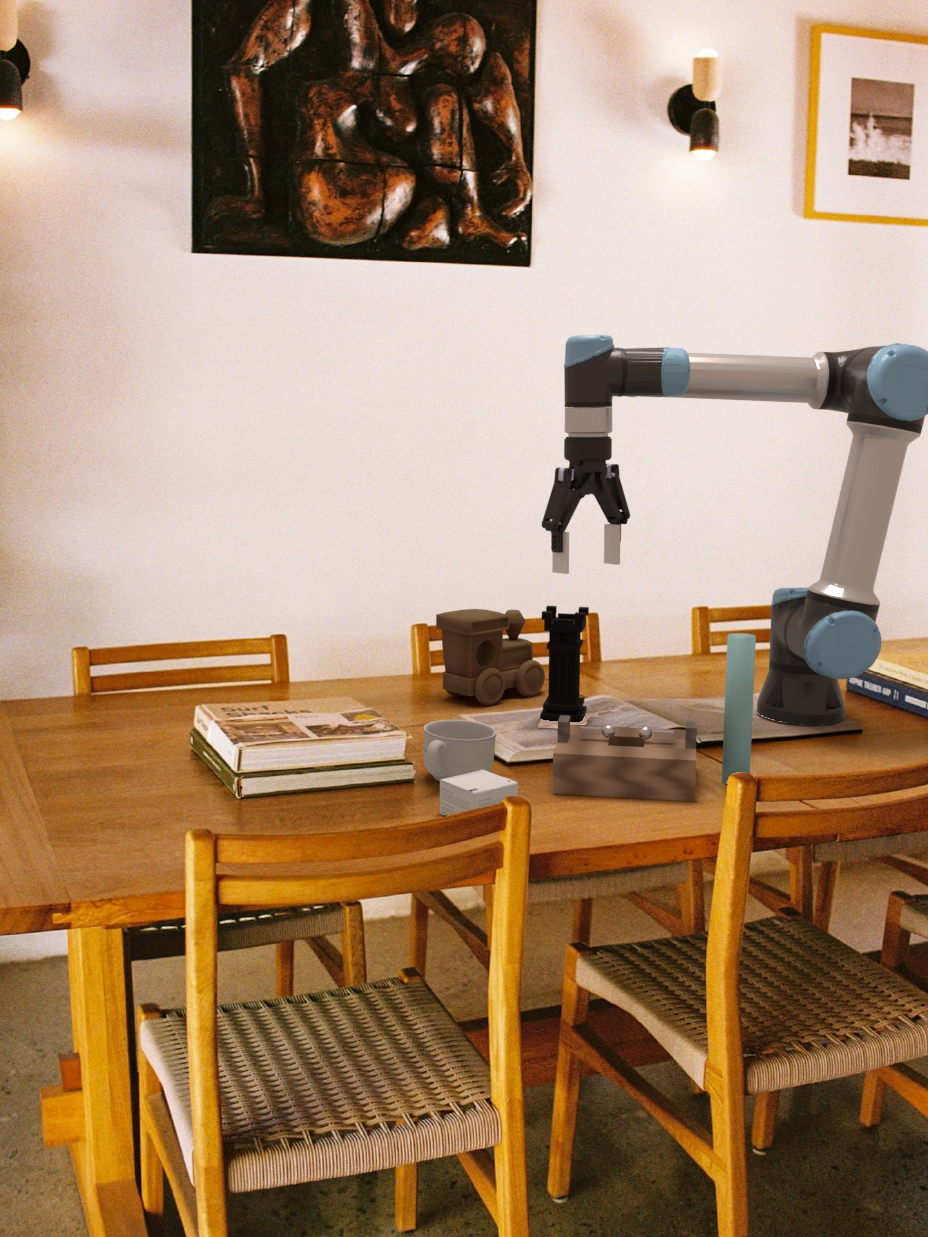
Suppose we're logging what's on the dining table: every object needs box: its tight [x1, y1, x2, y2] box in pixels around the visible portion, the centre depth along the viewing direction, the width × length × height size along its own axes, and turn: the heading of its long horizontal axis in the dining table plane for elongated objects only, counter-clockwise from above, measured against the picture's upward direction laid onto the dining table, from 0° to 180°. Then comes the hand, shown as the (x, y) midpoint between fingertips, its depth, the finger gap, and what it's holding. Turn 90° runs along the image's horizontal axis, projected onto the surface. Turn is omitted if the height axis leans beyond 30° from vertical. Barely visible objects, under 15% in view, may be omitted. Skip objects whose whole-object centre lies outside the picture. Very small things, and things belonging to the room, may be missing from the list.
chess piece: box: [539, 605, 590, 722], centre depth 215 cm, size 8×8×20 cm
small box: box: [439, 770, 519, 816], centre depth 169 cm, size 8×8×5 cm
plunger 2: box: [638, 725, 674, 740], centre depth 183 cm, size 5×2×2 cm, turn 80°
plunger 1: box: [580, 724, 615, 738], centre depth 184 cm, size 5×2×2 cm, turn 80°
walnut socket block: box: [552, 715, 698, 803], centre depth 184 cm, size 20×16×9 cm
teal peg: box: [721, 632, 757, 786], centre depth 182 cm, size 4×4×22 cm
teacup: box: [422, 719, 498, 782], centre depth 184 cm, size 14×11×8 cm
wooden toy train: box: [435, 608, 546, 706], centre depth 235 cm, size 20×11×17 cm, turn 131°
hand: (586, 568), depth 202 cm, fingers open, 13 cm apart
